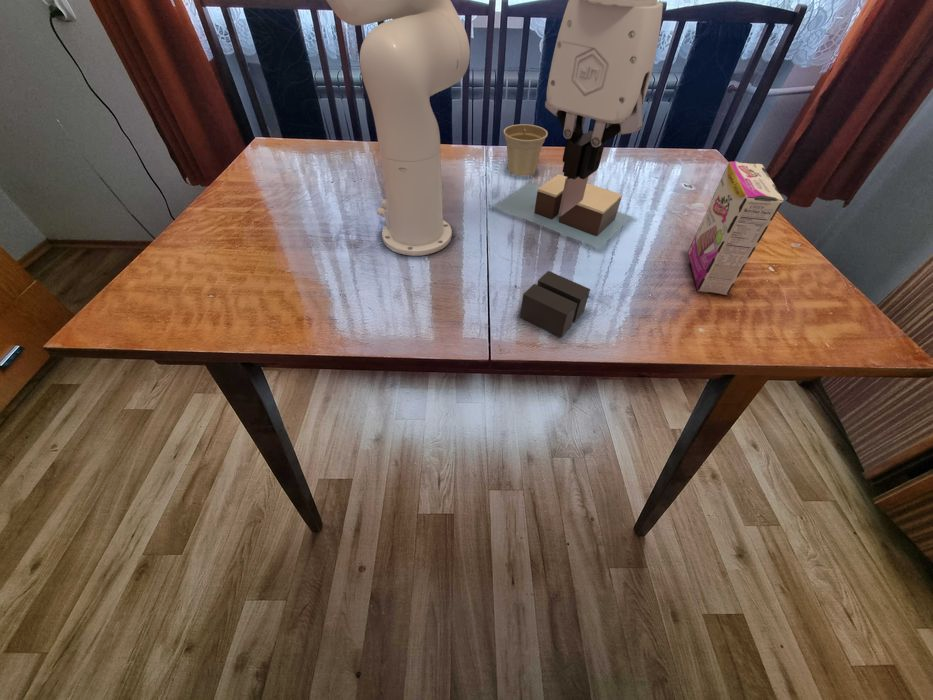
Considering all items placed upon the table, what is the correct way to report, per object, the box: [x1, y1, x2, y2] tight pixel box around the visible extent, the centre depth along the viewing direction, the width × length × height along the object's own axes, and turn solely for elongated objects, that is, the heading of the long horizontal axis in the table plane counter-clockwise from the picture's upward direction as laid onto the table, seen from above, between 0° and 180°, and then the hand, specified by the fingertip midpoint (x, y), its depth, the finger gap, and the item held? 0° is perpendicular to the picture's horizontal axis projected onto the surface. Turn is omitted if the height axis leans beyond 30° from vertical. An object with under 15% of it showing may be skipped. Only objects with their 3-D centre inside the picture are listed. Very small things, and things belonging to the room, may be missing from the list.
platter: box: [493, 181, 632, 249], centre depth 83 cm, size 23×14×1 cm, turn 52°
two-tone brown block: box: [534, 173, 568, 220], centre depth 81 cm, size 4×8×5 cm, turn 142°
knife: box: [558, 130, 593, 216], centre depth 53 cm, size 6×2×9 cm, turn 140°
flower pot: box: [503, 123, 549, 177], centre depth 92 cm, size 9×9×9 cm
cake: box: [559, 182, 623, 236], centre depth 78 cm, size 8×8×5 cm
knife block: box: [519, 270, 591, 339], centre depth 61 cm, size 7×7×4 cm
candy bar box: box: [687, 161, 785, 296], centre depth 64 cm, size 11×5×16 cm, turn 168°
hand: (578, 171), depth 53 cm, fingers closed on knife, 1 cm apart
